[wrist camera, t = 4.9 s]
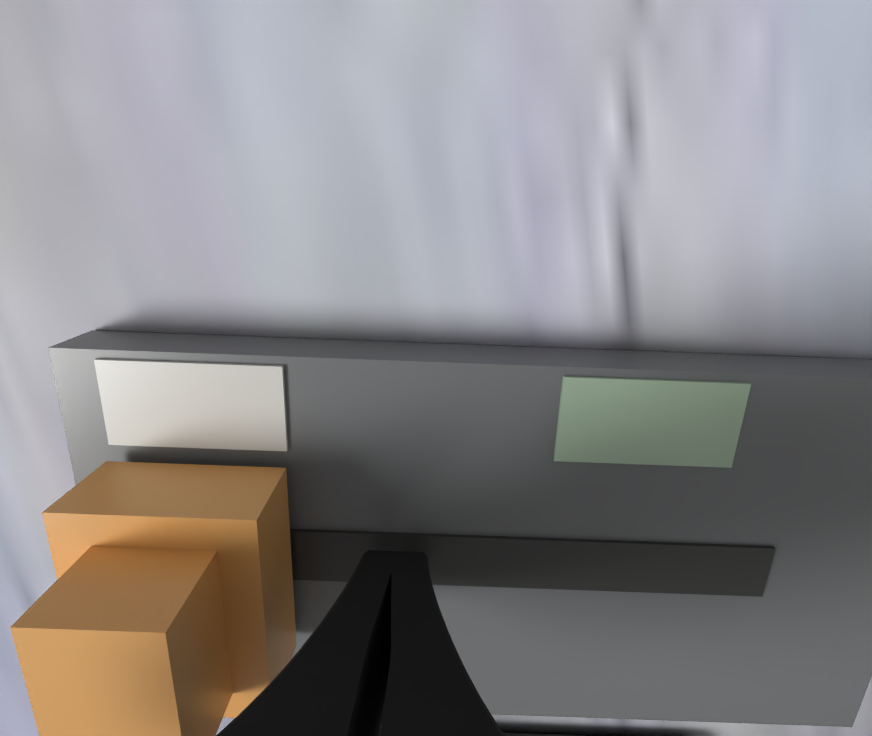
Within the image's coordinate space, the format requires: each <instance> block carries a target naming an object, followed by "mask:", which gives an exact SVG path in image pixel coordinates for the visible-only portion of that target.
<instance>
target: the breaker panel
mask: <svg viewBox="0 0 872 736" xmlns="http://www.w3.org/2000/svg"><path fill="white" fill-rule="evenodd" d="M48 349H49V354H50V359H51V364H52V369H53V374H54V379H55V384H56V389H57V394H58V399H59V404H60V409H61V414H62V419H63V424H64V429H65V434H66V439H67V444H68V449H69V454H70V459H71V464H72V469H73V474H74V479H75V484H76V485H77V484H78V483H80V482H81V481H82V480H83V479H85V478H86V477H87V476H88V475H90V474H91V473H92V472H93V471H95V470H96V469H97V468H98V467H100V466H101V465H102V464H103V463H105V462H106V461H115V462H143V463H170V464H197V465H225V466H252V467H279V468H286V472H287V489H288V506H289V523H290V540H291V557H292V574H293V591H294V608H295V625H296V642H297V645H296V648H295V651H294V654H293V657H294V656H295V655H296V653H297V652H298V651H299V650H300V648H301V647H302V646H303V645H304V643H305V642H306V641H307V639H308V638H309V637H310V636H311V634H312V633H313V632H314V630H315V629H316V628H317V627H318V625H319V624H320V623H321V621H322V620H323V619H324V617H325V616H326V614H327V613H328V611H329V610H330V609H331V607H332V606H333V604H334V603H335V601H336V600H337V598H338V597H339V595H340V594H341V592H342V591H343V589H344V588H345V586H346V584H347V583H348V581H349V580H350V578H351V576H352V575H353V573H354V571H355V569H356V567H357V566H358V564H359V562H360V560H361V558H362V556H363V554H364V553H365V552H367V551H368V550H380V551H411V552H424V553H425V554H426V555H427V556H428V566H429V573H430V577H431V582H432V585H433V589H434V592H435V596H436V599H437V602H438V605H439V608H440V611H441V613H442V616H443V619H444V621H445V624H446V627H447V629H448V632H449V634H450V636H451V639H452V641H453V643H454V645H455V648H456V650H457V652H458V654H459V656H460V659H461V661H462V663H463V665H464V667H465V669H466V671H467V673H468V675H469V677H470V678H471V680H472V682H473V684H474V686H475V688H476V689H477V691H478V693H479V695H480V697H481V698H482V700H483V702H484V703H485V705H486V707H487V708H488V710H489V712H490V713H491V714H501V715H530V716H558V717H586V718H615V719H643V720H671V721H699V722H728V723H756V724H784V725H813V726H841V727H852V726H853V723H854V721H855V718H856V716H857V713H858V710H859V708H860V705H861V703H862V700H863V697H864V695H865V692H866V689H867V687H868V684H869V682H870V679H871V676H872V359H846V358H819V357H792V356H765V355H738V354H711V353H685V352H658V351H631V350H604V349H577V348H550V347H523V346H496V345H470V344H443V343H416V342H389V341H362V340H335V339H308V338H281V337H255V336H228V335H201V334H174V333H147V332H120V331H93V330H92V331H90V332H87V333H85V334H82V335H79V336H77V337H74V338H72V339H69V340H67V341H64V342H62V343H59V344H56V345H54V346H51V347H49V348H48ZM293 657H292V658H293Z"/></svg>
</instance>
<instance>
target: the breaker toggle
mask: <svg viewBox="0 0 872 736" xmlns="http://www.w3.org/2000/svg"><path fill="white" fill-rule="evenodd" d="M42 515H43V519H44V523H45V528H46V532H47V537H48V541H49V545H50V550H51V554H52V559H53V563H54V567H55V572H56V576H57V581H56V582H55V583H54V584H53V585H52V586H51V587H50V588H49V589H48V590H47V591H46V592H45V593H44V594H43V595H42V596H41V597H40V598H39V599H38V600H37V601H36V602H35V603H34V604H33V605H32V606H31V607H30V608H29V609H28V610H27V611H26V612H25V613H24V614H23V615H22V616H21V617H20V618H19V619H18V620H17V621H16V622H15V623H14V624H13V625H12V626H11V627H10V629H11V632H12V636H13V640H14V643H15V647H16V651H17V654H18V658H19V662H20V666H21V669H22V673H23V677H24V680H25V684H26V688H27V691H28V695H29V699H30V702H31V706H32V710H33V714H34V717H35V721H36V725H37V728H38V732H39V736H215V735H216V733H217V730H218V728H219V725H220V723H221V721H222V718H223V717H230V718H236V717H237V716H238V715H239V714H240V713H241V712H242V711H243V710H244V709H245V708H246V707H247V706H248V705H249V704H250V703H251V702H252V701H253V700H254V699H255V698H256V697H257V696H258V695H259V694H260V693H261V692H262V691H263V690H264V689H265V688H266V687H267V686H268V685H269V684H270V683H271V682H272V681H273V679H274V678H275V677H276V676H277V675H278V674H279V673H280V672H281V671H282V670H283V668H284V667H285V666H286V665H287V664H288V663H289V662H290V660H291V659H292V657H293V654H294V651H295V648H296V645H297V642H296V625H295V608H294V591H293V574H292V557H291V540H290V523H289V506H288V489H287V472H286V468H279V467H252V466H225V465H197V464H170V463H143V462H115V461H106V462H105V463H103V464H102V465H101V466H100V467H98V468H97V469H96V470H95V471H93V472H92V473H91V474H90V475H88V476H87V477H86V478H85V479H83V480H82V481H81V482H80V483H78V484H77V485H76V486H75V487H73V488H72V489H71V490H70V491H68V492H67V493H66V494H65V495H63V496H62V497H61V498H60V499H58V500H57V501H56V502H55V503H53V504H52V505H51V506H50V507H48V508H47V509H46V510H45V511H43V512H42Z"/></svg>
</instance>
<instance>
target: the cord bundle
mask: <svg viewBox="0 0 872 736" xmlns="http://www.w3.org/2000/svg"><path fill="white" fill-rule="evenodd" d="M380 730H381V728H380ZM504 735H505V736H584V735H555V734H527V733H504ZM379 736H380V734H379Z"/></svg>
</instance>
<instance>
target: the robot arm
mask: <svg viewBox="0 0 872 736" xmlns="http://www.w3.org/2000/svg"><path fill="white" fill-rule="evenodd" d="M381 723H382V724H381ZM380 728H381V730H380ZM379 734H380V736H505V735H504V733H503V732H502V731H501V729H500V728H499V726H498V725H497V723H496V722H495V720H494V718H493V717H492V715H491V713H490V712H489V710H488V708H487V707H486V705H485V703H484V702H483V700H482V698H481V697H480V695H479V693H478V691H477V689H476V688H475V686H474V684H473V682H472V680H471V678H470V677H469V675H468V673H467V671H466V669H465V667H464V665H463V663H462V661H461V659H460V656H459V654H458V652H457V650H456V648H455V645H454V643H453V641H452V639H451V636H450V634H449V632H448V629H447V627H446V624H445V621H444V619H443V616H442V613H441V611H440V608H439V605H438V602H437V599H436V596H435V592H434V589H433V585H432V582H431V577H430V573H429V566H428V556H427V555H426V554H425V553H424V552H411V551H380V550H368V551H367V552H365V553H364V554H363V556H362V558H361V560H360V562H359V564H358V566H357V567H356V569H355V571H354V573H353V575H352V576H351V578H350V580H349V581H348V583H347V584H346V586H345V588H344V589H343V591H342V592H341V594H340V595H339V597H338V598H337V600H336V601H335V603H334V604H333V606H332V607H331V609H330V610H329V611H328V613H327V614H326V616H325V617H324V619H323V620H322V621H321V623H320V624H319V625H318V627H317V628H316V629H315V630H314V632H313V633H312V634H311V636H310V637H309V638H308V639H307V641H306V642H305V643H304V645H303V646H302V647H301V648H300V650H299V651H298V652H297V653H296V655H295V656H294V657H293V658H292V659H291V660H290V662H289V663H288V664H287V665H286V666H285V667H284V668H283V670H282V671H281V672H280V673H279V674H278V675H277V676H276V677H275V678H274V679H273V681H272V682H271V683H270V684H269V685H268V686H267V687H266V688H265V689H264V690H263V691H262V692H261V693H260V694H259V695H258V696H257V697H256V698H255V699H254V700H253V701H252V702H251V703H250V704H249V705H248V706H247V707H246V708H245V709H244V710H243V711H242V712H241V713H240V714H239V715H238V716H237V717H236V718H235V719H234V720H233V721H232V722H231V723H230V724H228V725H227V726H226V727H225V728H224V729H223V730H222V731H221V732H220V733H219V734H217V735H216V736H379Z"/></svg>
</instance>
